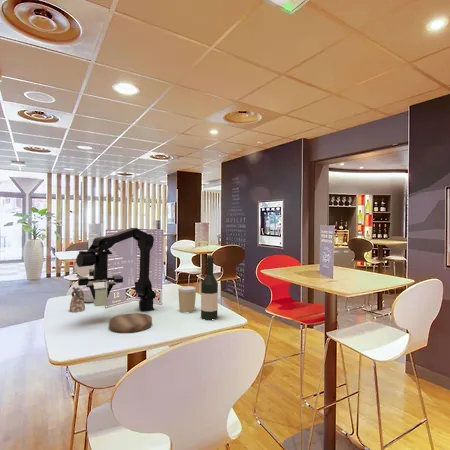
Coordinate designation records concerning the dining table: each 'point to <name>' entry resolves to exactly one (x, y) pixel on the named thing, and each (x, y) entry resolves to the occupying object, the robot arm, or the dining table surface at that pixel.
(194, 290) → the coffee cup
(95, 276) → the robot arm
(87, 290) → the paper bowls
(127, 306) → the dining table surface
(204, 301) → the wine bottle
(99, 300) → the sage block
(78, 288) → the figurine
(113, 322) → the walnut base
